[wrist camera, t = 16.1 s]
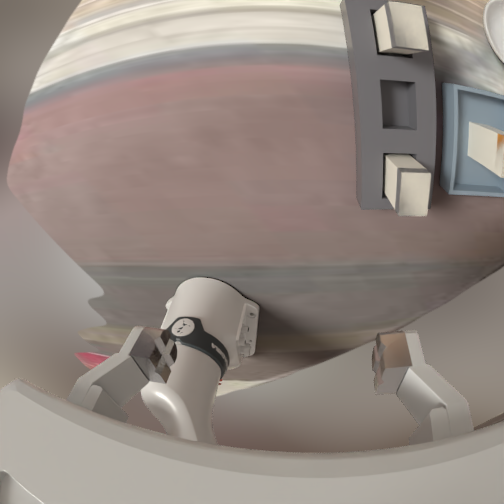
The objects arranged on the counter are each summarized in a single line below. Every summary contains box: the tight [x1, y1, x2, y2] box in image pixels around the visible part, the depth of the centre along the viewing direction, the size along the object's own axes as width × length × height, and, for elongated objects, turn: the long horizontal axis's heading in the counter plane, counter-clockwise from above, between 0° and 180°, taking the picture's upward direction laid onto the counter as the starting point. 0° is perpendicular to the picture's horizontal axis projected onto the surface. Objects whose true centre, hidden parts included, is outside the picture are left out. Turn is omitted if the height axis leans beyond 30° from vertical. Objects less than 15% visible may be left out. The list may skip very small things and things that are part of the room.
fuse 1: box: [371, 1, 429, 56], centre depth 21 cm, size 5×4×9 cm
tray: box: [439, 83, 504, 197], centre depth 28 cm, size 15×12×4 cm
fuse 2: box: [382, 153, 431, 216], centre depth 30 cm, size 5×4×9 cm
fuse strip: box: [340, 0, 436, 210], centre depth 28 cm, size 27×10×4 cm, turn 8°
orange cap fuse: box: [468, 122, 504, 178], centre depth 25 cm, size 5×4×9 cm
